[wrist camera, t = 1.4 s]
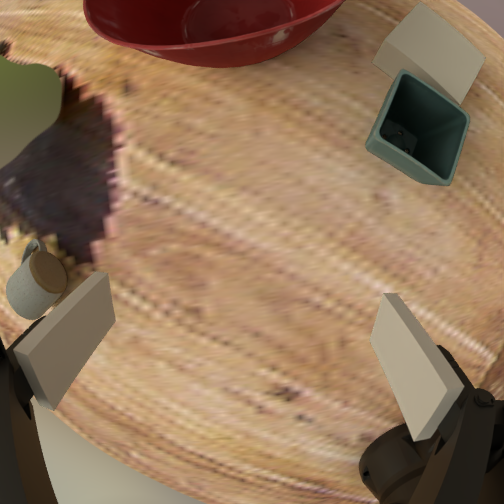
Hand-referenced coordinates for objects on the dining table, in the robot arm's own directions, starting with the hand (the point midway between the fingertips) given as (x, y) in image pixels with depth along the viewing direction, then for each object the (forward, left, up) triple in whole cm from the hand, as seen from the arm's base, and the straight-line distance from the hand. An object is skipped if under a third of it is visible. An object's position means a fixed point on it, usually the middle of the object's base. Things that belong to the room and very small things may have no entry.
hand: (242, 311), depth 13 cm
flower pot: (-4, -20, -21) cm, 29 cm away
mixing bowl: (+22, -22, -21) cm, 38 cm away
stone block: (-1, -33, -21) cm, 39 cm away
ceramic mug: (+24, +23, -21) cm, 39 cm away
